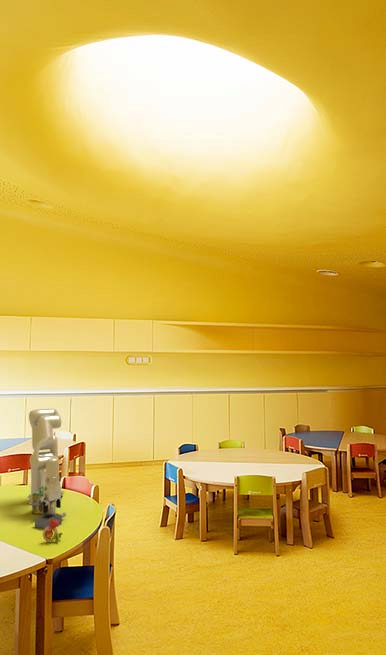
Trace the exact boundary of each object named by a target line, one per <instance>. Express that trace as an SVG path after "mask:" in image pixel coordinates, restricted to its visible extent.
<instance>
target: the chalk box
mask: <svg viewBox="0 0 386 655" xmlns="http://www.w3.org/2000/svg"><path fill="white" fill-rule="evenodd" d="M39 489H40V491H38V492H36V493H34V494H32V505H31V506H32V507H31V509H32V511H31V514H32V515H44V514H46V512H43V505H42V503H41V501H40V498H41V497H42V496H43V495H44V487H43V486H42V487H40V488H39ZM41 489H43V491H41ZM46 502H47V501H46ZM46 502H45V503H46ZM47 505H48V504H47ZM47 513H48V512H47Z"/></svg>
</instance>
